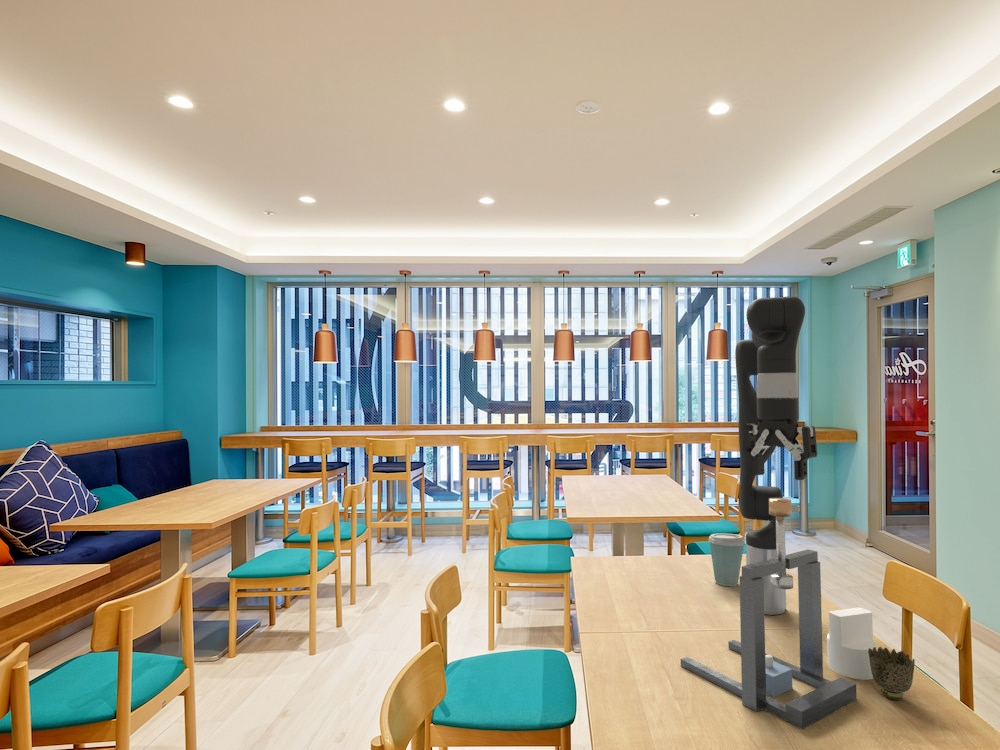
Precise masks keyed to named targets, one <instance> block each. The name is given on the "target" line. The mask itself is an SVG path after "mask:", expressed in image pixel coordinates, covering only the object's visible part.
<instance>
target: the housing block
mask: <svg viewBox="0 0 1000 750" xmlns="http://www.w3.org/2000/svg"><path fill="white" fill-rule="evenodd" d="M773 657H774V656H773V655H771V654H769V655H765V665H766V695H769V696H771V697H774V698H775V697H777V696H779V695H781V694H783V693H785V692H788V691H791V690H793V677H792V669H791V668H788V667H786V666H784V665H782V664H779V663H777V662H775V661H773Z"/></svg>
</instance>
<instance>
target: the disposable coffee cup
mask: <svg viewBox="0 0 1000 750" xmlns="http://www.w3.org/2000/svg"><path fill="white" fill-rule="evenodd" d="M708 542H709V547H710V555H711V560H712V561H711V562H712V569H713V574H714V581H715V583H716V584H718V585H720V586H723V587H736V586H737V585H738V583H739V581H740V573H741V568H742V561H743V560H742V558H743V552H744V547H745V546H746V541H745V539H744V536H743V535H740V534H734V533H711V534H710V535H709V537H708Z"/></svg>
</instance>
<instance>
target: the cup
mask: <svg viewBox="0 0 1000 750" xmlns="http://www.w3.org/2000/svg"><path fill="white" fill-rule="evenodd" d="M868 654H869V660H870V667H871V672H872V676H873V681H874V682H875V683H876V684H877V686H879V687H880V693H881V695H882V696H884V697H885V698H887V699H889V700H892V701H901V700H903V698H904V697H905V695H904V693H906V692H907V691H909V690H910V689H911V687H912V685H913V679H914V672H915V658H912V659H910V655H909V654H906V653H905V651H904V650H900V651H896V649H895V648H893V649H892V650H891V651H890V650H889V649H888V648H887V647H884V648H882V647H881V646H879V647H878V648H877V647H876V648H875V647H874V648H873V651H872V649H870V648H869V650H868Z"/></svg>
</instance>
